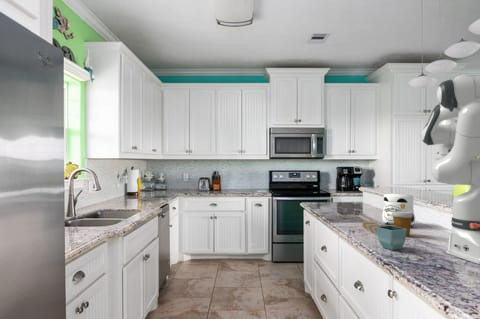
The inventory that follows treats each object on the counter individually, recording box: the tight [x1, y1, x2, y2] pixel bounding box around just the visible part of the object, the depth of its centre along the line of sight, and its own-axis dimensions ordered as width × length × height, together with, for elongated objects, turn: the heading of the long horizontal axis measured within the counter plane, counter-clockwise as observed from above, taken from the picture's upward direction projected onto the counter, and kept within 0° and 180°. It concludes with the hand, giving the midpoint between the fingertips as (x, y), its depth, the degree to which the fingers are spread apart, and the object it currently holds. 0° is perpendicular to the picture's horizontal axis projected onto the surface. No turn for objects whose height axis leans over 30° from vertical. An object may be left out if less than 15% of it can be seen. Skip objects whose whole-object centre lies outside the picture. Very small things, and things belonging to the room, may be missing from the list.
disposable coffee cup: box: [392, 211, 413, 238], centre depth 157 cm, size 10×10×12 cm
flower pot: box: [376, 226, 407, 251], centre depth 134 cm, size 9×9×9 cm
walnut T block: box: [361, 221, 394, 235], centre depth 166 cm, size 24×16×3 cm, turn 0°
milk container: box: [381, 193, 416, 227], centre depth 182 cm, size 17×17×18 cm
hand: (449, 178), depth 158 cm, fingers closed
